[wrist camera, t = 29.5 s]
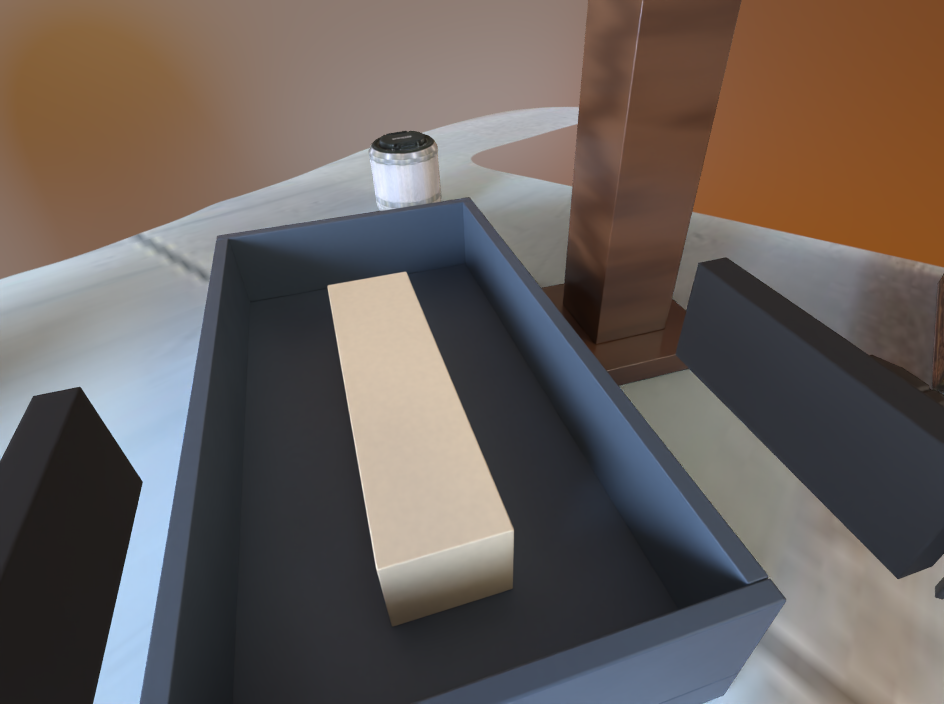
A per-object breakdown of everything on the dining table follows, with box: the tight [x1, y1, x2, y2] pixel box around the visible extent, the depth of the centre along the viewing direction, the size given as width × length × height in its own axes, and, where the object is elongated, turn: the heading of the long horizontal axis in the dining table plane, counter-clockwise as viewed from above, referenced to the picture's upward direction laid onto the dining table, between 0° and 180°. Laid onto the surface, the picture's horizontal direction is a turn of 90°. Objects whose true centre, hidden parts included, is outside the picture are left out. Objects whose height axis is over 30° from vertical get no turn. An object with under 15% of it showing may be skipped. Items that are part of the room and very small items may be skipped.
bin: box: [140, 197, 786, 704], centre depth 27 cm, size 32×18×7 cm, turn 17°
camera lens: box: [369, 131, 441, 211], centre depth 51 cm, size 6×6×8 cm
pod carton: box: [327, 272, 514, 626], centre depth 26 cm, size 19×5×4 cm, turn 17°
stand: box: [542, 0, 741, 386], centre depth 27 cm, size 14×10×31 cm
